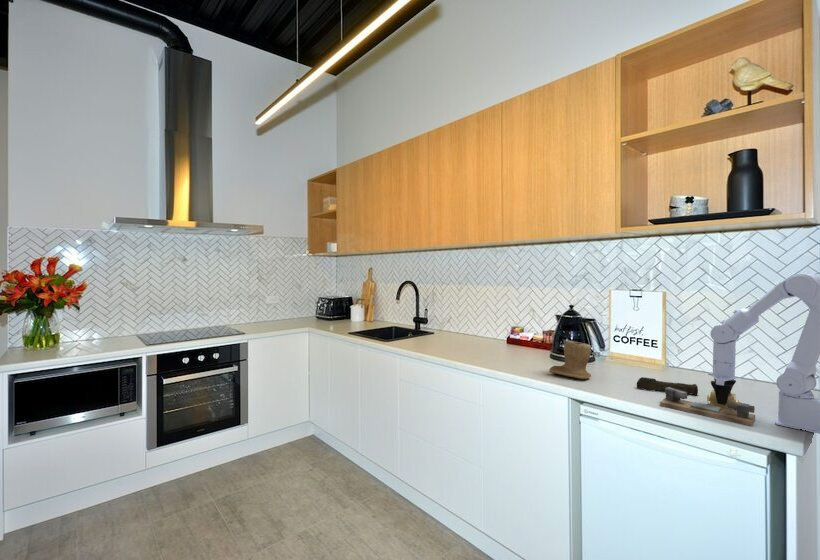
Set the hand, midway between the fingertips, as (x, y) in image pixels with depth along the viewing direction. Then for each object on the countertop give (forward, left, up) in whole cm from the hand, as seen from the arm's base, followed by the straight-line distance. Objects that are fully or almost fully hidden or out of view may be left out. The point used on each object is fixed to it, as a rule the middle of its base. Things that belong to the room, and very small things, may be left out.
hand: (722, 402), depth 127 cm
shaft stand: (+3, +10, -1) cm, 11 cm away
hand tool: (+17, -5, -2) cm, 18 cm away
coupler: (0, 0, -1) cm, 1 cm away
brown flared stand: (+50, 0, -2) cm, 50 cm away
